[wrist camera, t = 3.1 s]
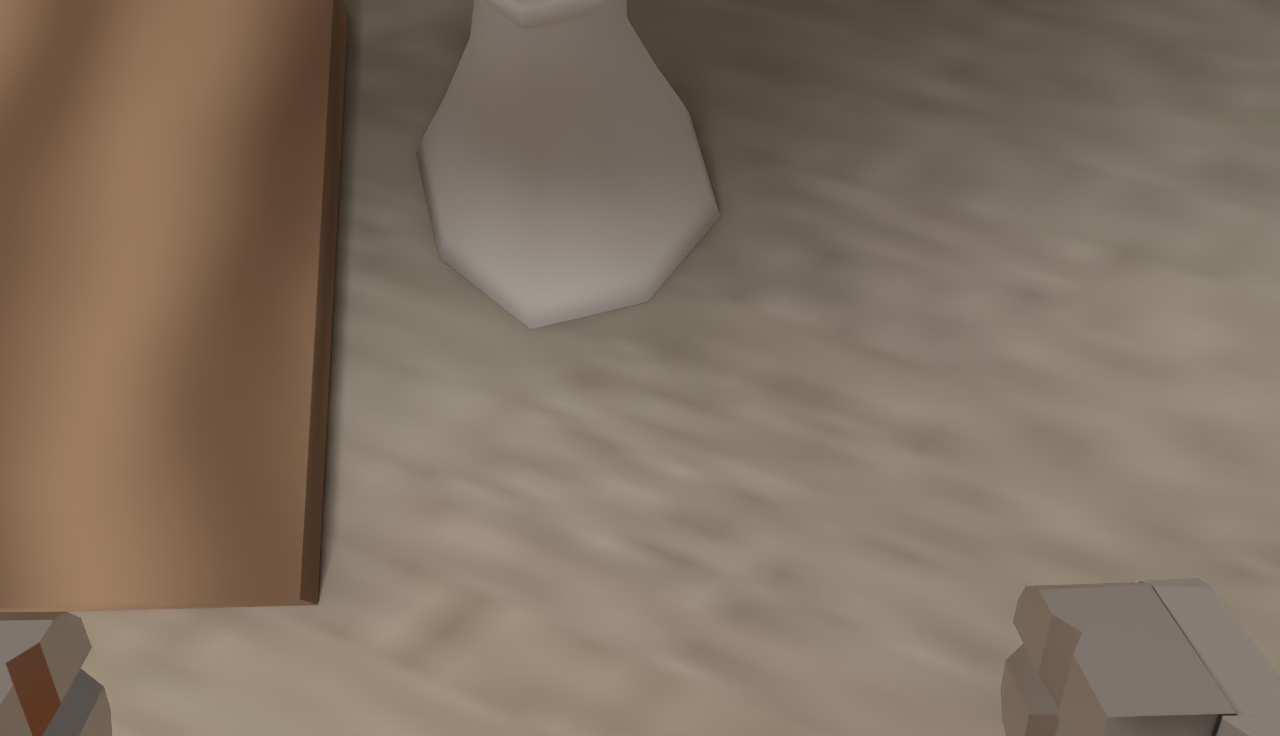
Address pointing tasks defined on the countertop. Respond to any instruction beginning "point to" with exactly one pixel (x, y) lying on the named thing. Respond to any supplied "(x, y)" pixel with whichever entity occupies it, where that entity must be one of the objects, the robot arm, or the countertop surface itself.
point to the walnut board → (166, 299)
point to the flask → (562, 163)
